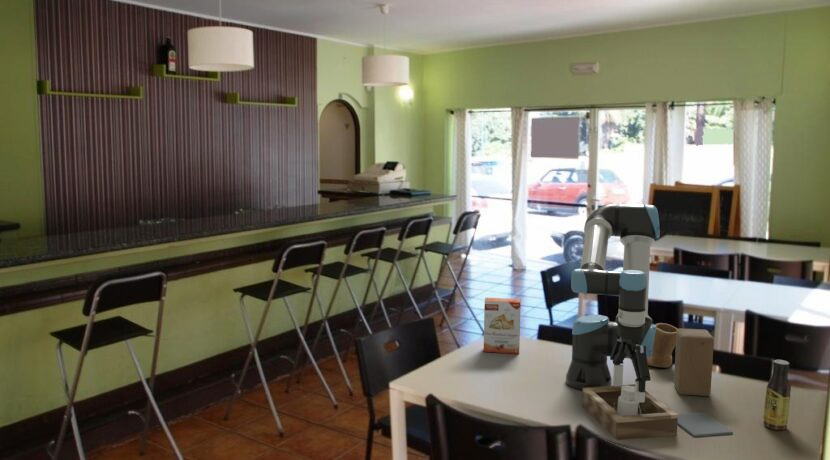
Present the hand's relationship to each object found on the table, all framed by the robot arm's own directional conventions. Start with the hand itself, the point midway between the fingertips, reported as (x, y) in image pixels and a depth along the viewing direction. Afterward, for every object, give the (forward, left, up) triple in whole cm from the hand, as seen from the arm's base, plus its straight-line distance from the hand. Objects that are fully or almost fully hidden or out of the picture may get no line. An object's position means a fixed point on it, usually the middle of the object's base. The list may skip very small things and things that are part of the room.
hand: (628, 393), depth 200 cm
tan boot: (-45, +36, -9) cm, 59 cm away
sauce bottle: (+12, +40, -9) cm, 43 cm away
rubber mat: (+7, +19, -8) cm, 22 cm away
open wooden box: (0, 0, -8) cm, 8 cm away
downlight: (0, 0, -9) cm, 9 cm away
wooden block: (-18, +32, -9) cm, 38 cm away
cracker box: (-69, -18, -9) cm, 72 cm away
